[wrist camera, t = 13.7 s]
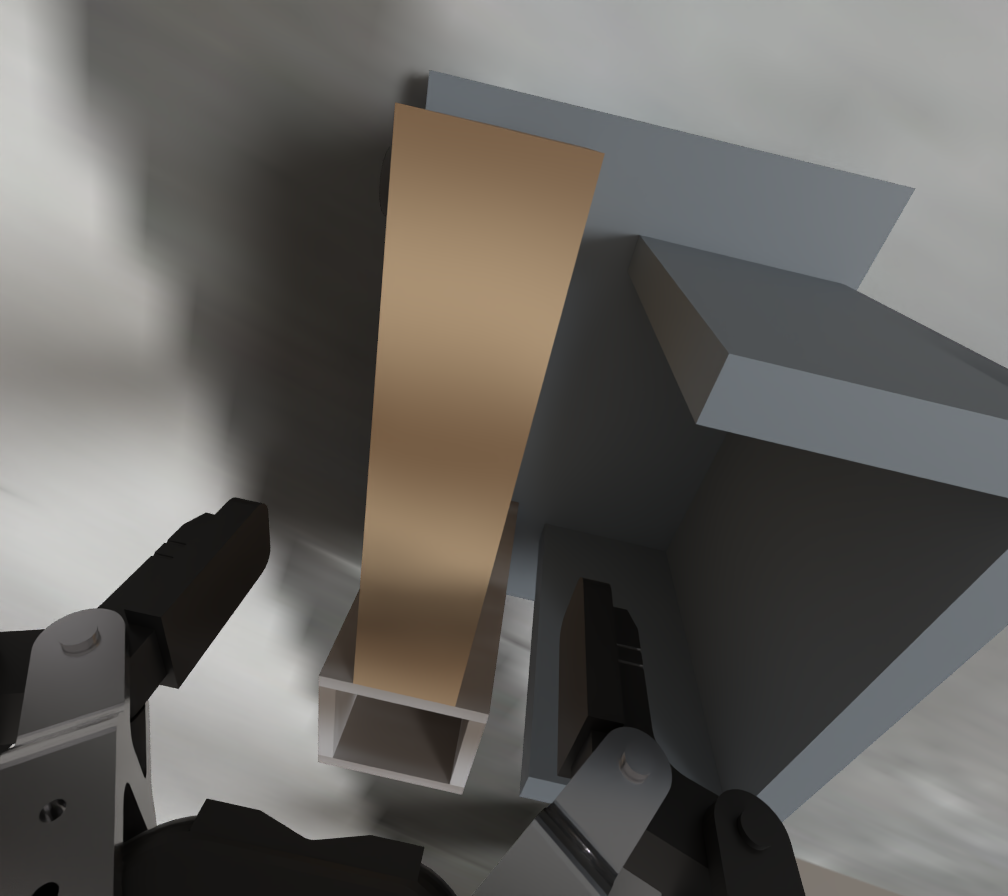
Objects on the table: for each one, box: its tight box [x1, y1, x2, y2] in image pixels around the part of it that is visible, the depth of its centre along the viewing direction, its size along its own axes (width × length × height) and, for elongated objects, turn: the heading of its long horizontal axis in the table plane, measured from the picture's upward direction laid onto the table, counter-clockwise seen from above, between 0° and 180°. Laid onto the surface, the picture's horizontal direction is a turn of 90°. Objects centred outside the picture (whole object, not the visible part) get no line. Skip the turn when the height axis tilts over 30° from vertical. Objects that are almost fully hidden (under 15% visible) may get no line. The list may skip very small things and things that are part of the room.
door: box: [318, 103, 605, 795], centre depth 16 cm, size 19×5×10 cm, turn 168°
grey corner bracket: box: [426, 70, 1008, 822], centre depth 17 cm, size 21×15×12 cm
